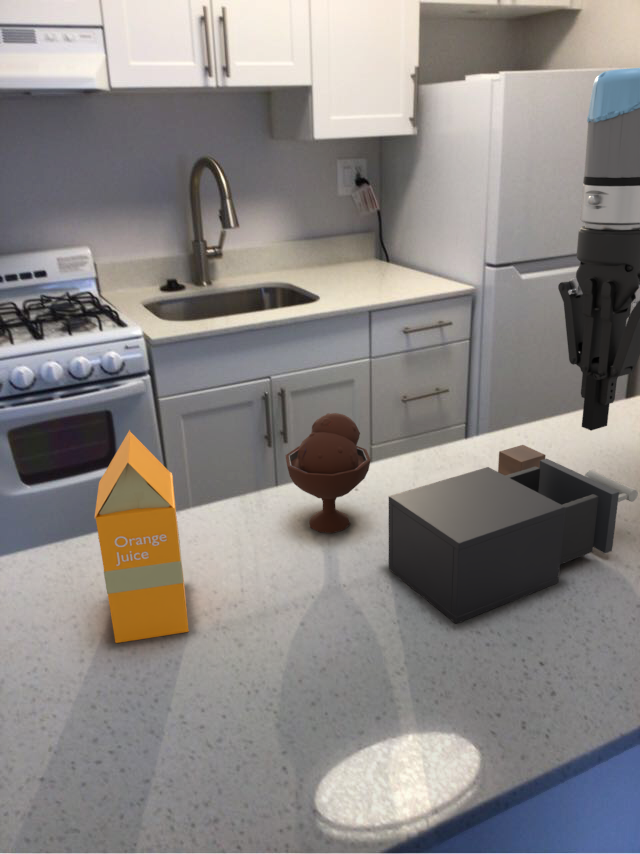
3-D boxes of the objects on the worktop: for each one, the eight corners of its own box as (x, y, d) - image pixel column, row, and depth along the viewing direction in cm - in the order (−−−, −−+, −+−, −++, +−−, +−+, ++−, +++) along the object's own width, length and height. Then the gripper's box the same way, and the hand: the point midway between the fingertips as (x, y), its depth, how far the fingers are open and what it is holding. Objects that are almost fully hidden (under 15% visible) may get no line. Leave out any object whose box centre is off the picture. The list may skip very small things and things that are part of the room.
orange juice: (185, 586, 87) (167, 424, 80) (190, 631, 79) (170, 456, 72) (116, 596, 86) (90, 432, 78) (113, 644, 78) (85, 466, 70)
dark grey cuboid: (484, 535, 96) (488, 466, 92) (558, 582, 85) (565, 506, 82) (388, 568, 89) (388, 495, 86) (456, 624, 79) (459, 543, 75)
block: (521, 472, 113) (522, 444, 111) (543, 484, 109) (545, 454, 107) (497, 480, 111) (498, 451, 109) (519, 491, 107) (521, 462, 105)
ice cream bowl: (297, 501, 106) (292, 401, 101) (376, 507, 104) (376, 404, 98) (278, 539, 97) (272, 430, 91) (365, 546, 94) (363, 434, 89)
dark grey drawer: (577, 501, 102) (582, 447, 99) (648, 536, 92) (656, 478, 89) (460, 540, 93) (462, 483, 90) (526, 584, 84) (531, 522, 81)
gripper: (546, 223, 86) (532, 417, 95) (642, 233, 75) (617, 450, 84) (592, 217, 89) (574, 405, 98) (691, 226, 79) (661, 436, 87)
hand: (594, 426), depth 91 cm, fingers closed
